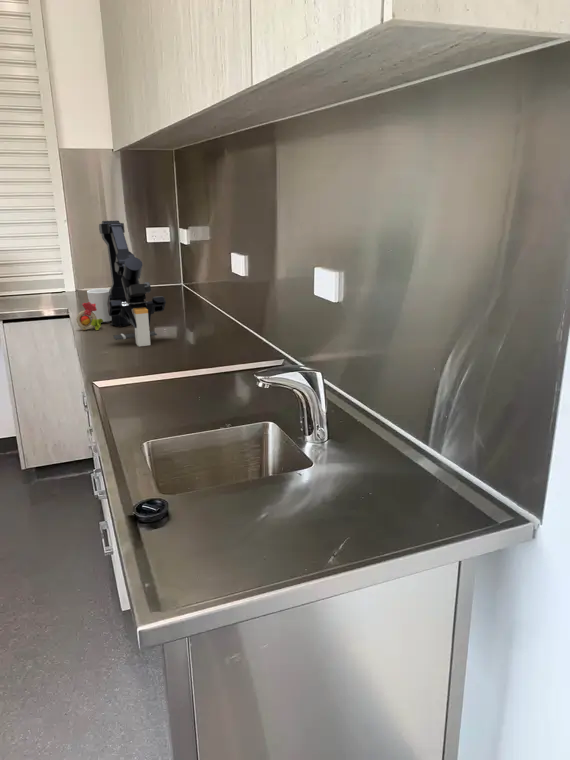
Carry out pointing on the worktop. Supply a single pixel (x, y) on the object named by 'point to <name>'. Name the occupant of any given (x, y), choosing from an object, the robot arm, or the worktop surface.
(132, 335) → the cord bundle
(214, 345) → the worktop surface
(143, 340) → the orange-topped grey block
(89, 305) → the bird rattle
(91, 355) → the worktop surface
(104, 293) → the cup
